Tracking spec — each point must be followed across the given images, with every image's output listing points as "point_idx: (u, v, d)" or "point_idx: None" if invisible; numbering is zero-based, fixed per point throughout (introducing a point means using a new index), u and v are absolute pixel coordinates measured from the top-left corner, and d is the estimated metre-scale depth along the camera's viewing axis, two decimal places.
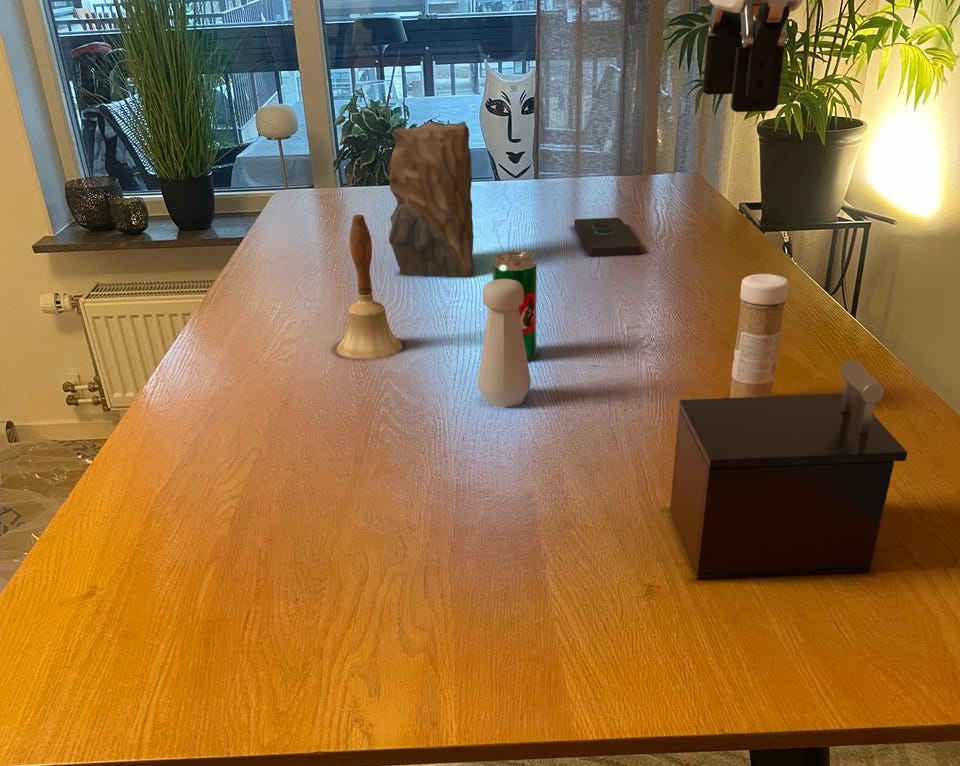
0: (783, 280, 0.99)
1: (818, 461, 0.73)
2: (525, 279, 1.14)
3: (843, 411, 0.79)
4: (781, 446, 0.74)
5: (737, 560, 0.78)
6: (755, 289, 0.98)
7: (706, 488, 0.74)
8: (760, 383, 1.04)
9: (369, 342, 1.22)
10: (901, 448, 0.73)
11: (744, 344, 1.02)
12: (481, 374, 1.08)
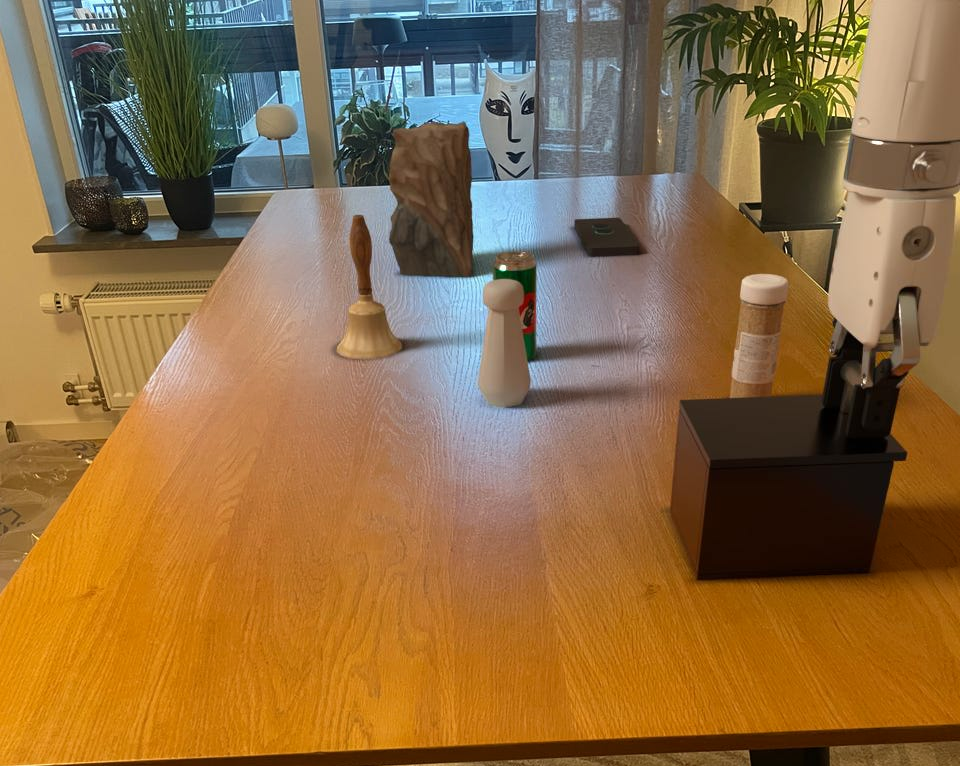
0: (783, 280, 0.99)
1: (818, 461, 0.73)
2: (525, 279, 1.14)
3: (843, 411, 0.79)
4: (781, 446, 0.74)
5: (737, 560, 0.78)
6: (755, 290, 0.98)
7: (706, 488, 0.74)
8: (760, 383, 1.04)
9: (369, 342, 1.22)
10: (901, 448, 0.73)
11: (744, 344, 1.02)
12: (481, 374, 1.08)
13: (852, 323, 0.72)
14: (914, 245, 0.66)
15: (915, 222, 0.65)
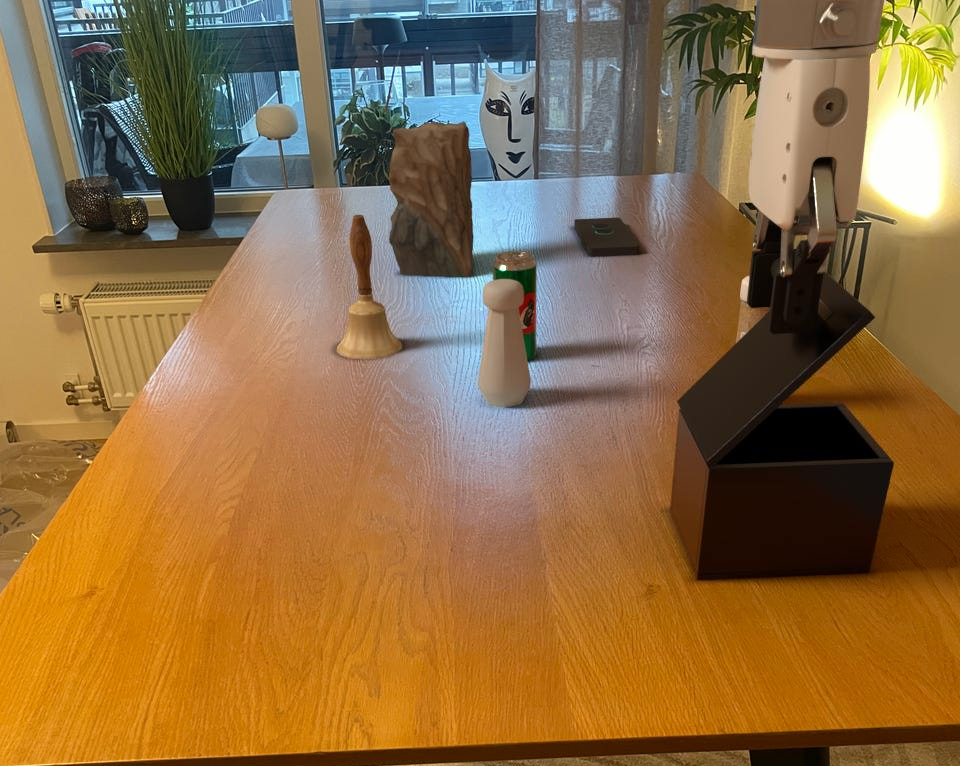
0: None
1: (797, 385, 0.70)
2: (525, 279, 1.14)
3: None
4: (760, 395, 0.72)
5: (737, 560, 0.78)
6: None
7: (706, 488, 0.74)
8: None
9: (369, 342, 1.22)
10: (863, 309, 0.67)
11: None
12: (481, 374, 1.08)
13: (769, 206, 0.67)
14: (826, 110, 0.61)
15: (826, 84, 0.60)
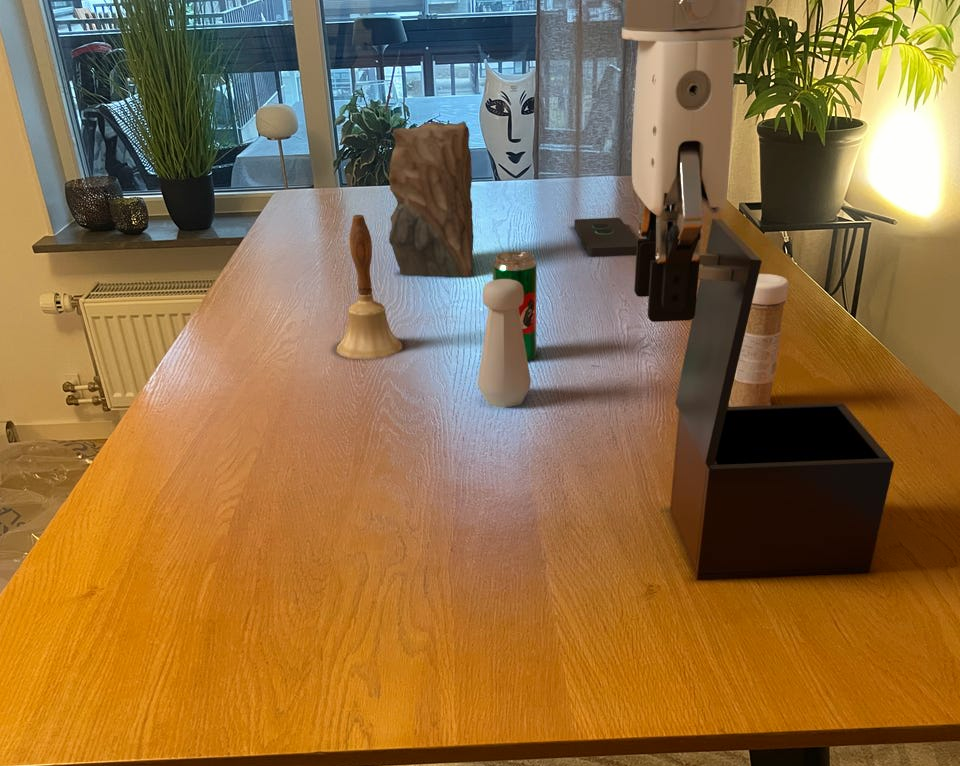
0: (783, 280, 0.99)
1: (735, 357, 0.68)
2: (525, 279, 1.14)
3: (715, 265, 0.72)
4: (716, 380, 0.71)
5: (737, 560, 0.78)
6: (755, 290, 0.98)
7: (706, 488, 0.74)
8: (760, 383, 1.04)
9: (369, 342, 1.22)
10: (748, 260, 0.65)
11: (743, 344, 1.02)
12: (481, 374, 1.08)
13: (643, 191, 0.66)
14: (690, 93, 0.60)
15: (688, 66, 0.59)
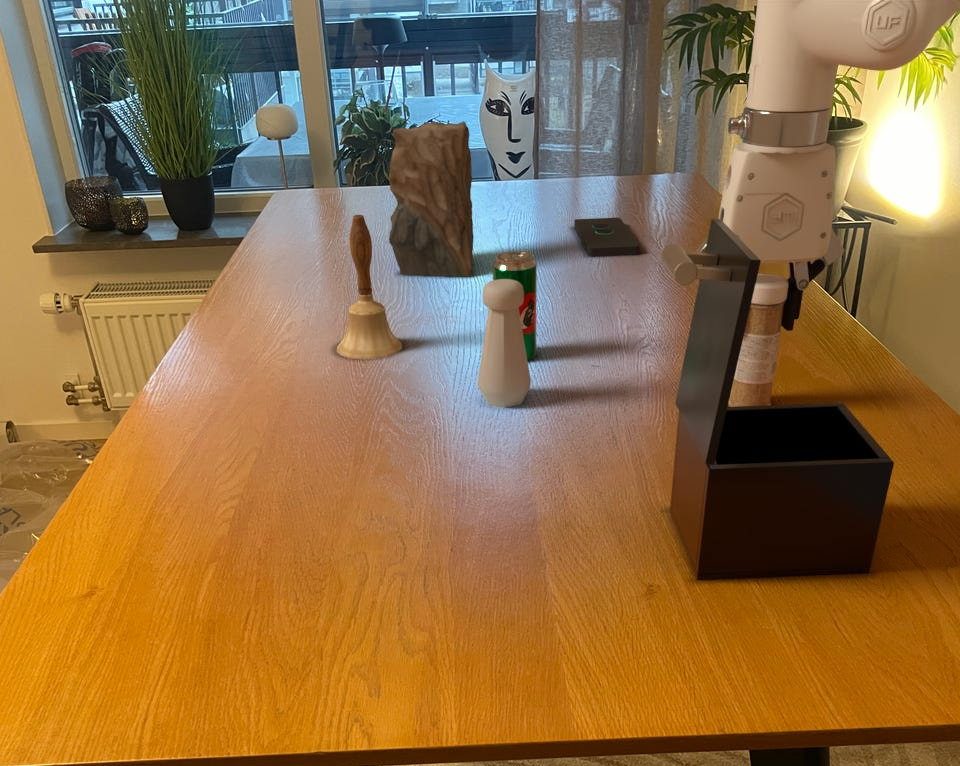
0: (783, 280, 0.99)
1: (735, 357, 0.68)
2: (525, 279, 1.14)
3: (715, 264, 0.72)
4: (715, 380, 0.71)
5: (737, 560, 0.78)
6: (755, 290, 0.98)
7: (706, 488, 0.74)
8: (760, 383, 1.04)
9: (369, 342, 1.22)
10: (747, 260, 0.65)
11: (744, 344, 1.02)
12: (481, 374, 1.08)
13: None
14: (730, 179, 0.94)
15: (731, 161, 0.94)
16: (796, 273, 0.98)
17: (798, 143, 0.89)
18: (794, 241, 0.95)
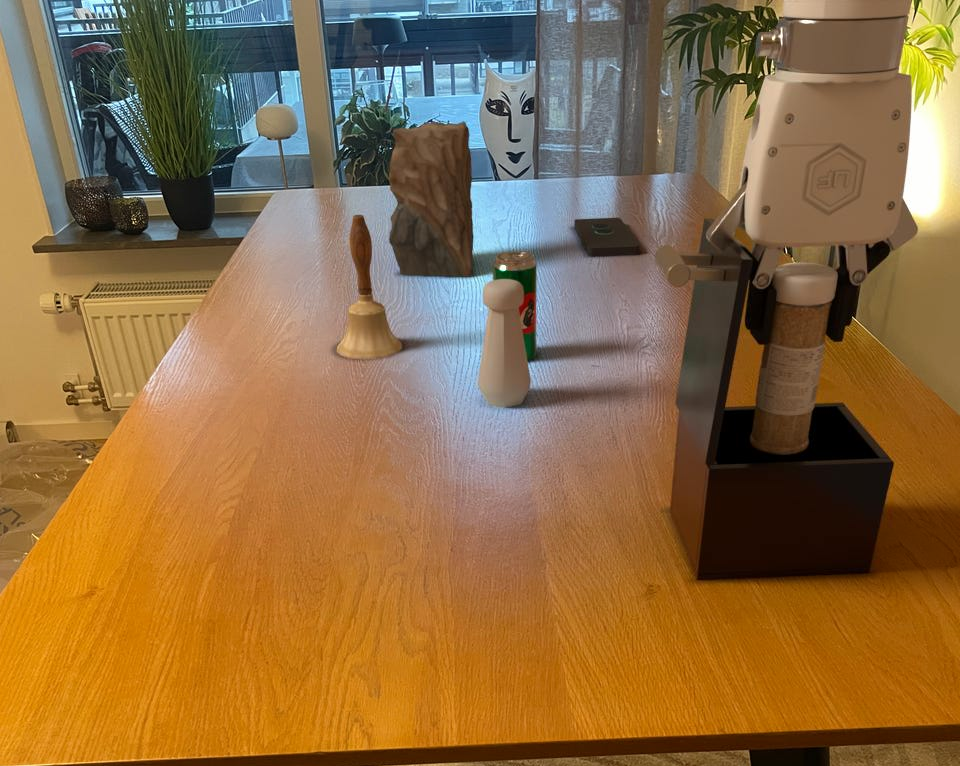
0: (830, 271, 0.70)
1: (731, 357, 0.68)
2: (525, 279, 1.14)
3: (708, 264, 0.72)
4: (712, 380, 0.71)
5: (737, 560, 0.78)
6: (792, 284, 0.70)
7: (706, 488, 0.74)
8: (796, 414, 0.75)
9: (369, 342, 1.22)
10: (739, 259, 0.65)
11: (773, 361, 0.73)
12: (481, 374, 1.08)
13: None
14: (758, 125, 0.66)
15: (759, 99, 0.65)
16: (849, 261, 0.69)
17: (860, 67, 0.60)
18: (849, 214, 0.66)
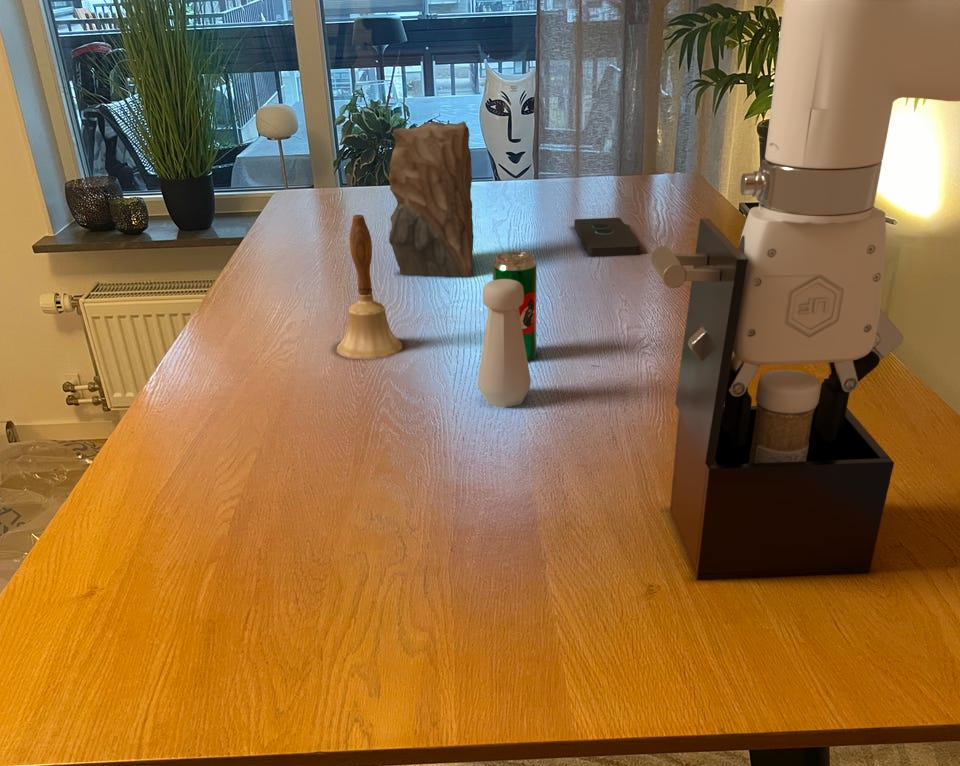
0: (813, 380, 0.75)
1: (728, 357, 0.68)
2: (525, 279, 1.14)
3: (705, 265, 0.72)
4: (711, 380, 0.71)
5: (737, 560, 0.78)
6: (777, 394, 0.74)
7: (706, 488, 0.74)
8: None
9: (369, 342, 1.22)
10: (734, 259, 0.65)
11: (760, 461, 0.78)
12: (481, 374, 1.08)
13: None
14: (743, 253, 0.70)
15: (744, 231, 0.70)
16: (839, 372, 0.74)
17: (837, 210, 0.65)
18: (829, 336, 0.71)
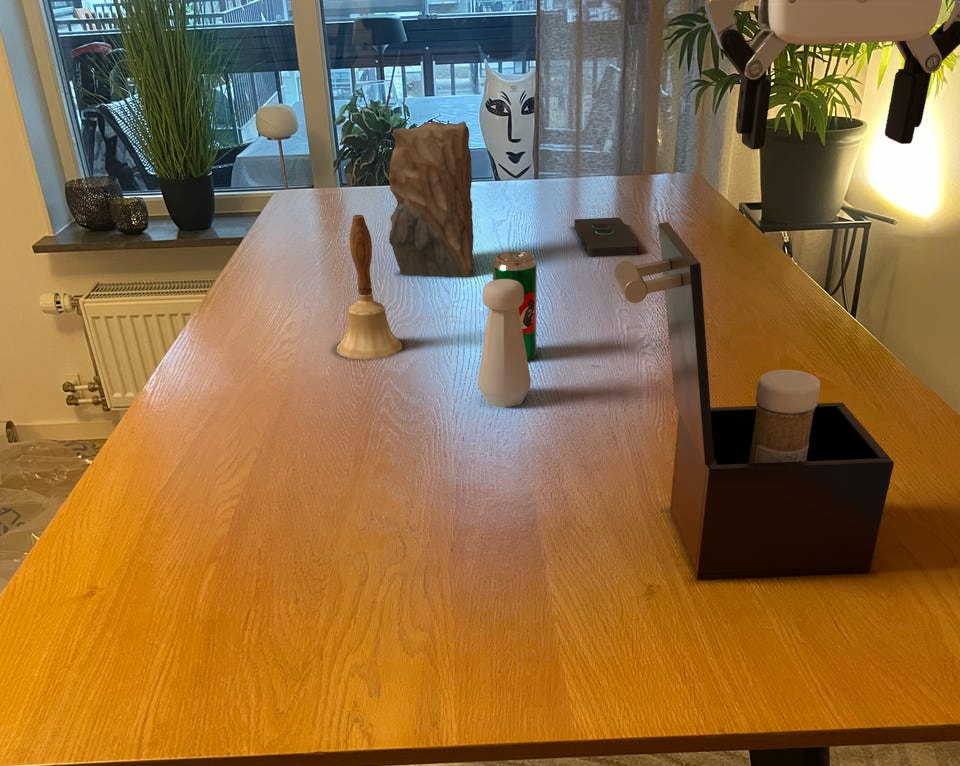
0: (813, 380, 0.75)
1: (703, 359, 0.68)
2: (525, 279, 1.14)
3: (669, 270, 0.72)
4: (694, 383, 0.71)
5: (737, 560, 0.78)
6: (777, 394, 0.74)
7: (706, 488, 0.74)
8: None
9: (369, 342, 1.22)
10: (688, 265, 0.66)
11: (760, 461, 0.78)
12: (481, 374, 1.08)
13: None
14: None
15: None
16: (915, 52, 0.62)
17: None
18: (886, 3, 0.59)
